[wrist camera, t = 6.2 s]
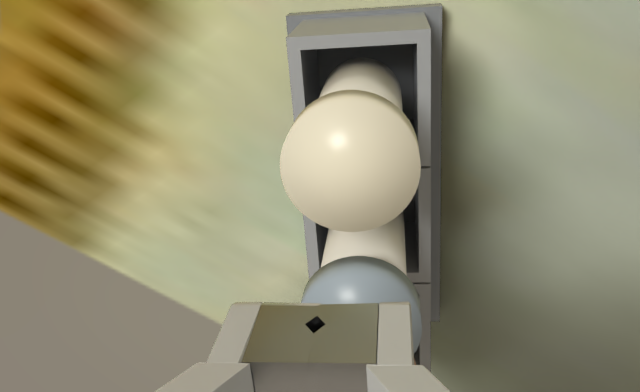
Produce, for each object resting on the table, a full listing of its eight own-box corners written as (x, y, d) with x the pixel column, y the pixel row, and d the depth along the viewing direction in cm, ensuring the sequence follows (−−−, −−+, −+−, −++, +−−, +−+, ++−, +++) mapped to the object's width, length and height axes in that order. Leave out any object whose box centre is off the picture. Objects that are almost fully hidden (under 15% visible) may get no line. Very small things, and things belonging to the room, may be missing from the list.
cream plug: (411, 44, 23) (420, 96, 16) (412, 142, 25) (421, 230, 17) (309, 50, 23) (272, 103, 16) (316, 145, 25) (286, 233, 18)
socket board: (440, 3, 27) (453, 21, 21) (438, 310, 34) (447, 384, 28) (289, 13, 28) (264, 33, 22) (316, 310, 35) (302, 381, 29)
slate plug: (412, 175, 25) (421, 275, 18) (413, 257, 27) (422, 379, 19) (319, 178, 26) (291, 275, 18) (326, 258, 27) (302, 377, 20)
